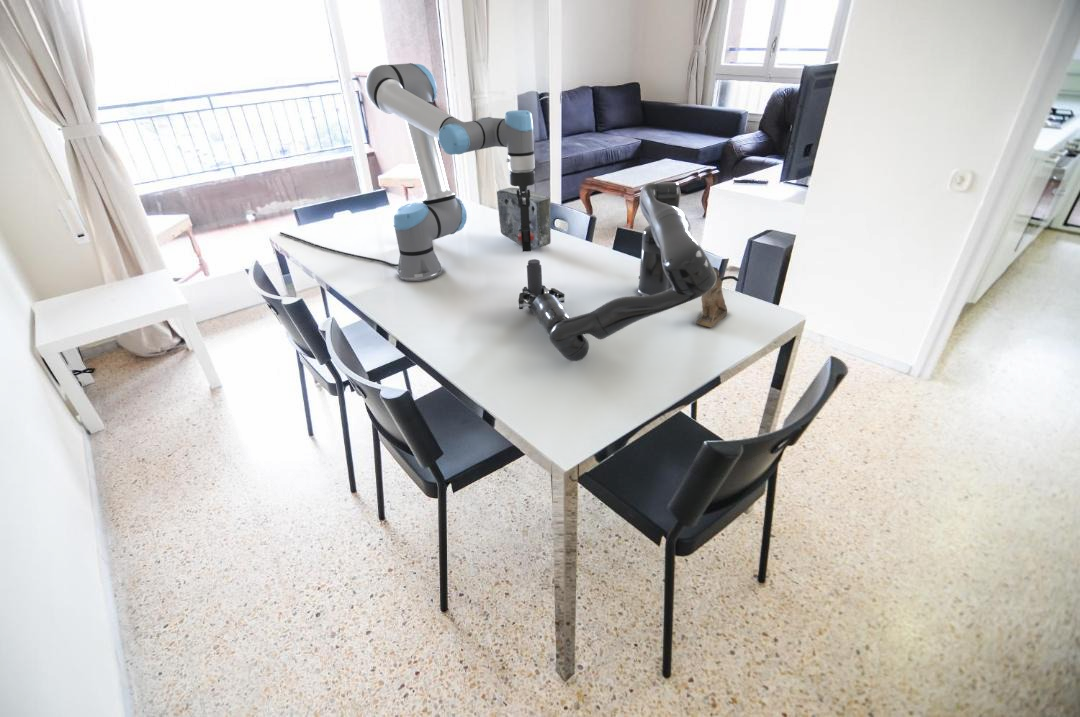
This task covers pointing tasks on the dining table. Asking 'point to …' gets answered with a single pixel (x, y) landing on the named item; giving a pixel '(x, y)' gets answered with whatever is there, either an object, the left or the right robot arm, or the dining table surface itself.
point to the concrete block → (511, 217)
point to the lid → (530, 237)
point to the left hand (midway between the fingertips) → (526, 248)
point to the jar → (534, 277)
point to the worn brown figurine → (713, 305)
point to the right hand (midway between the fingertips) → (532, 288)
